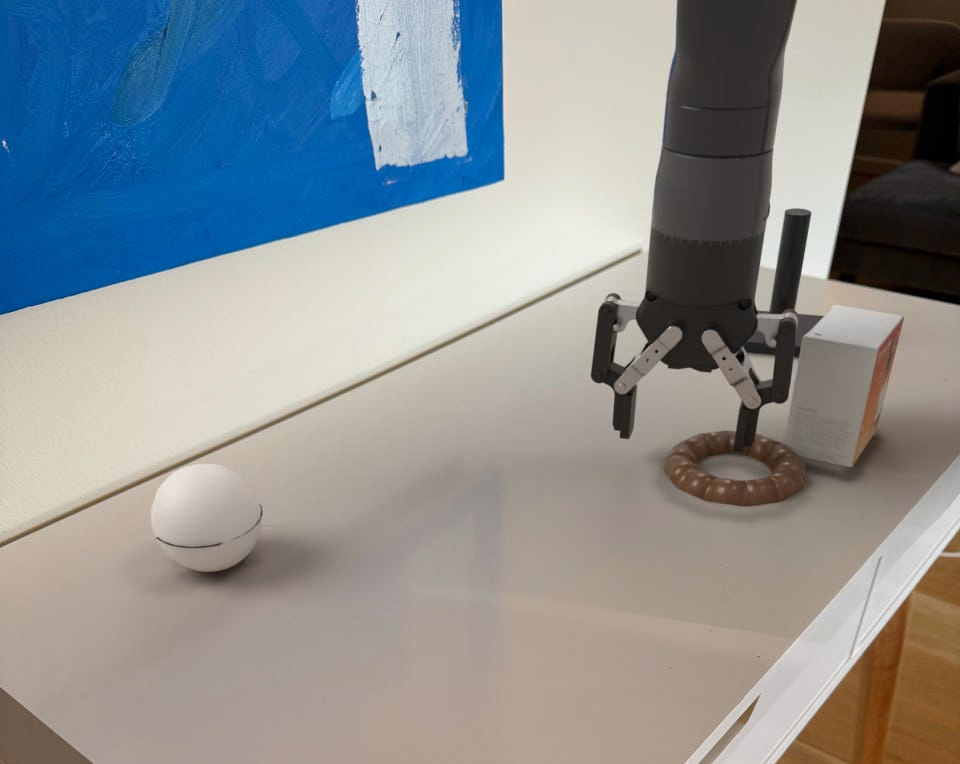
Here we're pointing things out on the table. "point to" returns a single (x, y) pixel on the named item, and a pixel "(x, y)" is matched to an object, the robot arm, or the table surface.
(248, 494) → the seamed sphere
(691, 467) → the brown ribbed ring
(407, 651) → the table surface
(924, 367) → the table surface
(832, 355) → the small box
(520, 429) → the table surface
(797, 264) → the stand
